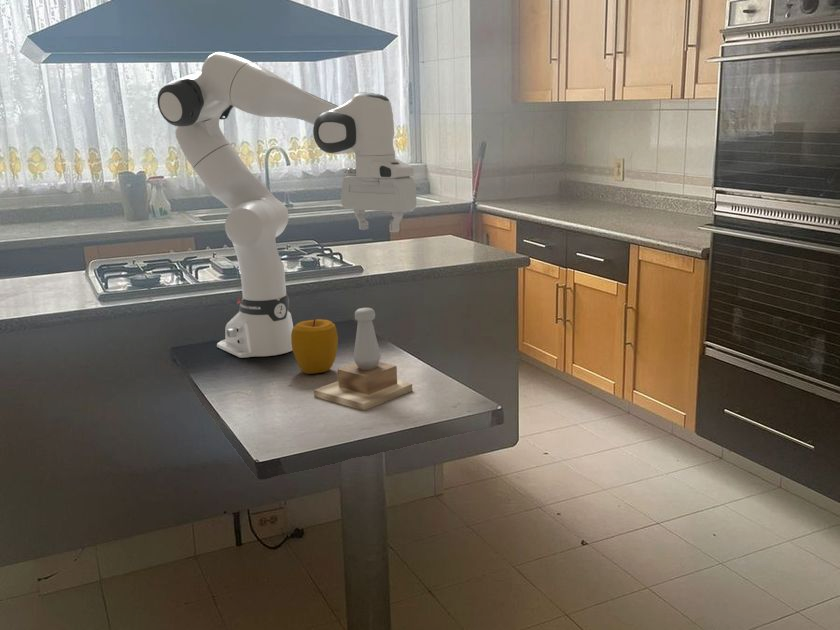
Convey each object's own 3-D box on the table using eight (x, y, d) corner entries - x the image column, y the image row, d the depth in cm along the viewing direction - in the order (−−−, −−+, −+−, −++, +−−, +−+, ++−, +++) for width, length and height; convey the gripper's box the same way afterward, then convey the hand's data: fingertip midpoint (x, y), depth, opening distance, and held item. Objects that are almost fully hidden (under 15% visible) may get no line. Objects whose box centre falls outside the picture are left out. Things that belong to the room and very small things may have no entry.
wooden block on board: (314, 396, 174) (312, 372, 173) (363, 378, 185) (361, 355, 184) (363, 410, 165) (362, 385, 163) (412, 390, 176) (411, 366, 174)
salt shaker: (378, 371, 172) (375, 312, 169) (352, 371, 172) (348, 312, 169) (383, 363, 177) (380, 305, 174) (357, 363, 178) (354, 305, 175)
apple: (315, 382, 184) (311, 327, 181) (283, 374, 190) (279, 321, 187) (349, 370, 192) (346, 317, 189) (318, 362, 199) (314, 311, 195)
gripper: (333, 168, 183) (336, 229, 186) (400, 170, 170) (402, 235, 173) (352, 166, 188) (356, 226, 191) (419, 167, 175) (422, 231, 178)
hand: (378, 230), depth 182 cm, fingers open, 8 cm apart
